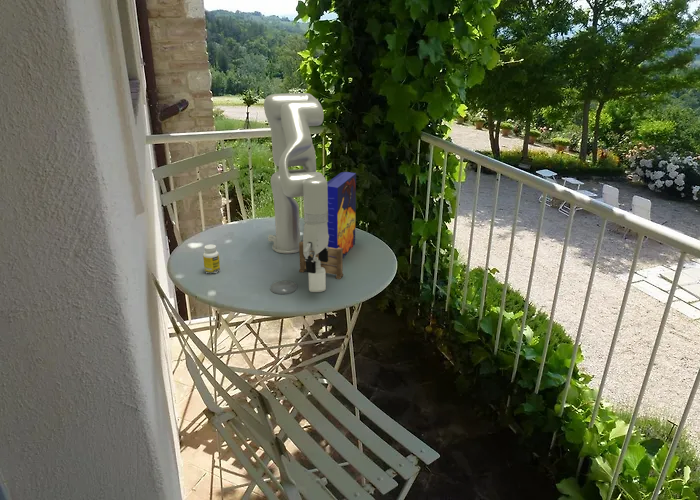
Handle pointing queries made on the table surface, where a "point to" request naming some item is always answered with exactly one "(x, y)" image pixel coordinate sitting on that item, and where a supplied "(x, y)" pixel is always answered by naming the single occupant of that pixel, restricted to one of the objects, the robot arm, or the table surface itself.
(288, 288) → the coaster
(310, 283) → the eye dropper bottle
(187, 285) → the table surface
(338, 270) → the brown piece
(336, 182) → the cereal box
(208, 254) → the supplement bottle
